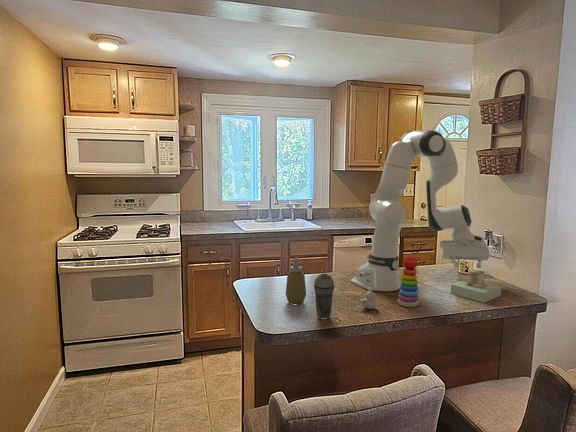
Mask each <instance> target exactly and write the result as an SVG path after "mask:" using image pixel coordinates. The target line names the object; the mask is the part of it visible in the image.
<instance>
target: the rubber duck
mask: <svg viewBox="0 0 576 432" xmlns="http://www.w3.org/2000/svg"><path fill="white" fill-rule="evenodd" d="M371 290H372V289H371ZM371 290H367V292H366V293H365V298H361V299H360V306H361V307H364V308H365V309H368V310H374V309H376V308H377V305H378V301H377V300H376V299H375V298H376V294H374V292H373V291H371Z"/></svg>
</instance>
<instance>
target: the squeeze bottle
mask: <svg viewBox="0 0 576 432" xmlns="http://www.w3.org/2000/svg"><path fill="white" fill-rule="evenodd" d="M299 263H300V262H299V258H298V257H294V259H293V264H292V265H290V267H289V271H288V272H287V276H286V287H285V297H286V300H287V303H288V302H289V303H292V304H301V305H303V304H304V302H305V299H306V297H307V290H306V289H307V288H306V287H307V286H306V278H305V277H306V276H305V272H303V267H302V266H301V265H300V264H299ZM289 303H288V304H289ZM302 303H303V304H302Z"/></svg>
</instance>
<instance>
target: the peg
mask: <svg viewBox="0 0 576 432" xmlns="http://www.w3.org/2000/svg"><path fill="white" fill-rule="evenodd" d="M485 274H486V271H483V270H479V269H471V270H468V274H467V275H468V276H467V279H468V286H471V287H475V288H479V289H480V288H482V287H484V282H485V279H486V278H485V277H486V275H485Z"/></svg>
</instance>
